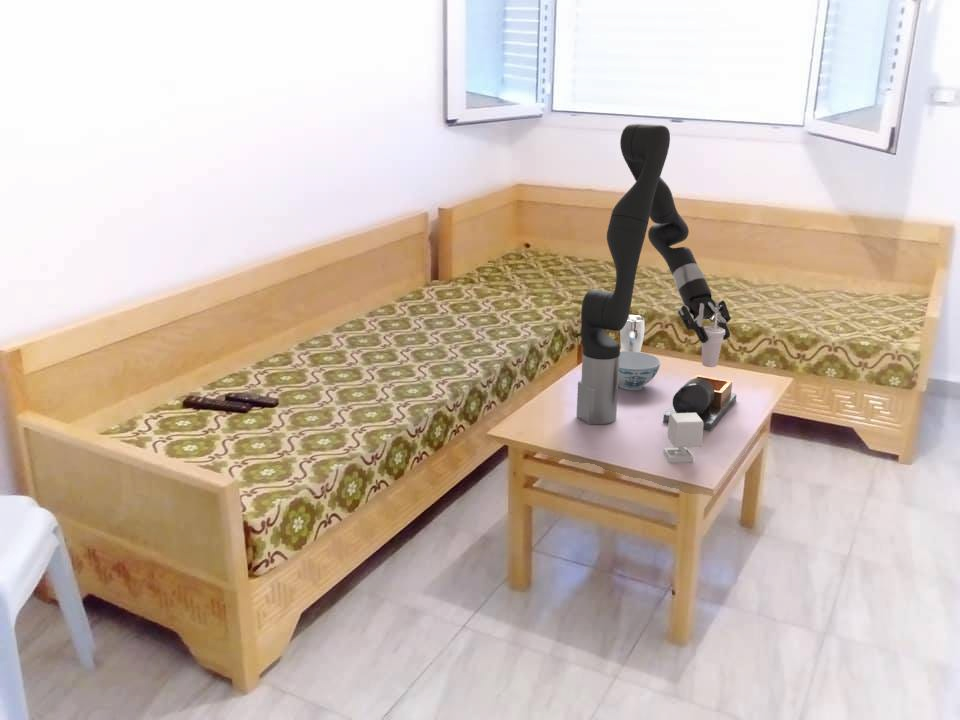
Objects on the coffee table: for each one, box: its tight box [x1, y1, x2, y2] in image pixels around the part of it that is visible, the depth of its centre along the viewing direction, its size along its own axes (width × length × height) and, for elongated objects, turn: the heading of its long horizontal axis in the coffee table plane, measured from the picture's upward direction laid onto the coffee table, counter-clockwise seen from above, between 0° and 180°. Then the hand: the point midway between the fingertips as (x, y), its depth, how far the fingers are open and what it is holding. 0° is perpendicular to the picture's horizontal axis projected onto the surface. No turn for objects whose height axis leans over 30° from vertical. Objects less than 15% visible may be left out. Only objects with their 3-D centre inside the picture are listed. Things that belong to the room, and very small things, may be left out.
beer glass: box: [619, 314, 645, 352], centre depth 265 cm, size 7×7×15 cm
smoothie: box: [701, 313, 725, 368], centre depth 233 cm, size 6×6×14 cm
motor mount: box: [663, 374, 737, 432], centre depth 233 cm, size 24×12×10 cm, turn 150°
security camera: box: [663, 413, 704, 464], centre depth 206 cm, size 6×7×10 cm
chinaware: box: [618, 351, 661, 391], centre depth 251 cm, size 15×15×8 cm
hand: (716, 339), depth 232 cm, fingers closed on smoothie, 6 cm apart
